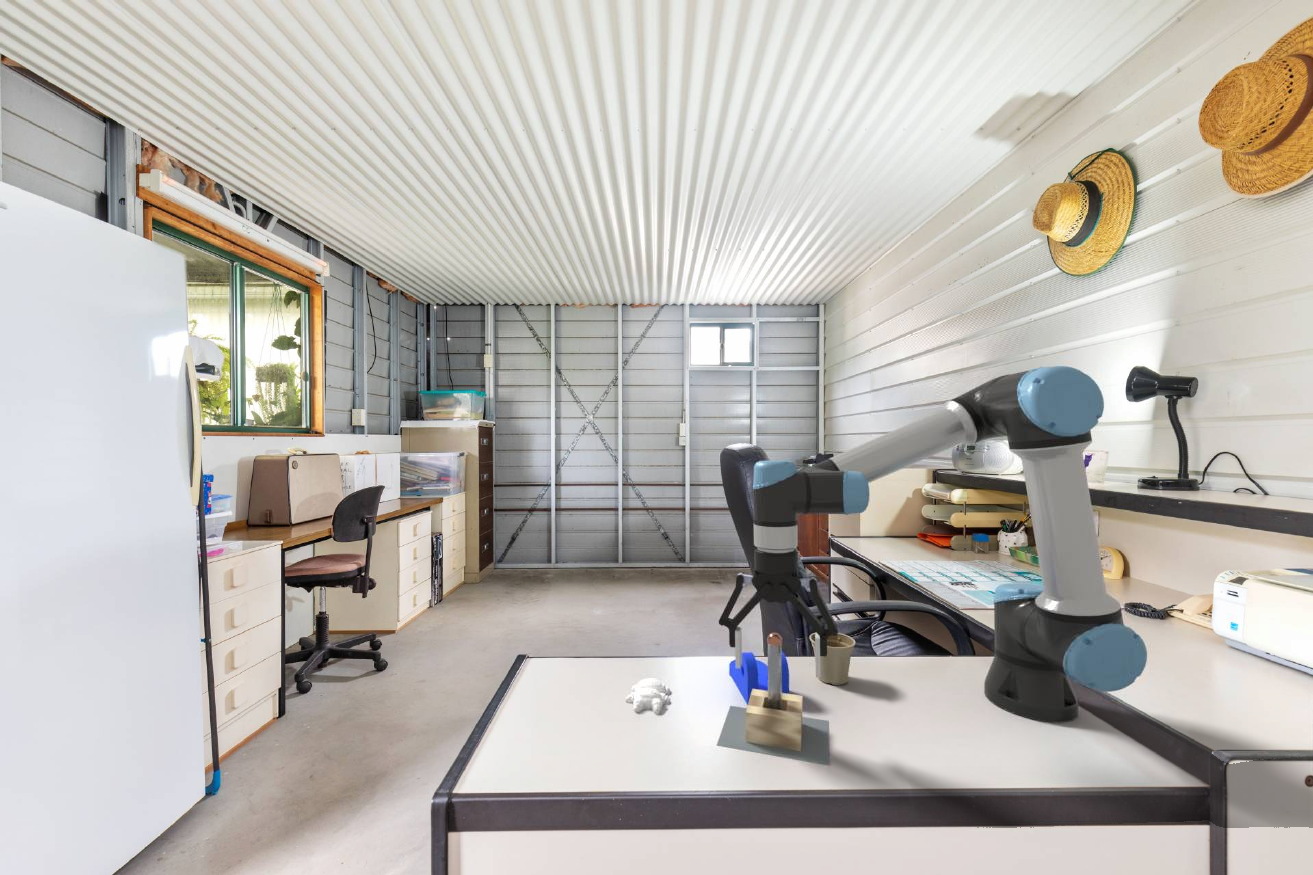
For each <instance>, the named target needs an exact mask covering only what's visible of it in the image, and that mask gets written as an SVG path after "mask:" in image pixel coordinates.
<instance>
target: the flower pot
mask: <svg viewBox="0 0 1313 875" xmlns="http://www.w3.org/2000/svg"><path fill="white" fill-rule="evenodd" d="M815 633H817V632H816V631H815V632H813V633H811V634H810V635H809V640H810V642H811V646H812V648H813V653H814V656H815ZM855 646H856V640H855V639H854V638H852V637H851V636H849V635H847V634H844V633H841V632H838V634H837V635H836V636H833V635H832V636H829V637H828V638H827V656H826V657H824V656H820V678H819V677H817V678H818V680H819V681H820V682H822V683H825V684H832V685H833V686H841V685H845V684H846V683H848V682H847V681H849V680H848V679H849V673H850V672H849V670H850V662H851V657H852V652H853V650H854V647H855ZM814 659H815V658H814ZM814 661H815V663H816V659H815V660H814Z"/></svg>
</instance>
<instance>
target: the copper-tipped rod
mask: <svg viewBox="0 0 1313 875" xmlns="http://www.w3.org/2000/svg"><path fill="white" fill-rule="evenodd" d="M766 642H767V666H768V708H769V709H776V710H782V652H783V650H782V649H783V637H782V635H780V634H779V633H778V632H771V633H770V634H768V636H767V638H766Z"/></svg>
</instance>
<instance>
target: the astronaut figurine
mask: <svg viewBox="0 0 1313 875" xmlns="http://www.w3.org/2000/svg"><path fill="white" fill-rule="evenodd" d="M630 691H631V693H630V694H629V693H628V695H627V696H626V698H625V702H626V703H629V704H630V703H632V705H633V706H632V708H633V711H634V713H635V714H636V713H640V712H642V711H643V710H644V709H647V710H648V709H649V710H652V713H654V714H655V715H659V714H660V713H661V711H662V709H663V704H664V705H665V704H666V705H669V704H670V703H671V698H670V697H669V695H670V693H671V688H670V687H669V686H667V685H666V684H665V683H663V681H661V680H659V679H657V678H652V677H651V678H650V677H649V678H644V679H641V680H640V681H639V682H637V684H634V685H632V687H631V690H630Z"/></svg>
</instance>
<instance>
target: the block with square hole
mask: <svg viewBox="0 0 1313 875" xmlns="http://www.w3.org/2000/svg"><path fill="white" fill-rule="evenodd" d="M803 701H804V700H803V695H799V694H791V693H789V694H786V693H782V710H776V709H769V708H768V691H765V690H758V689H752V692H751V696H750V699H749V703H748V705H746V708H747V710H746V742H750V743H756V744H761V745H767V746H773V747H779V748H784V749H790V750H796V751H801V739H802V722H803V717H804V716H803V708H804V707H803V706H804V705H803V704H804V702H803Z"/></svg>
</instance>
